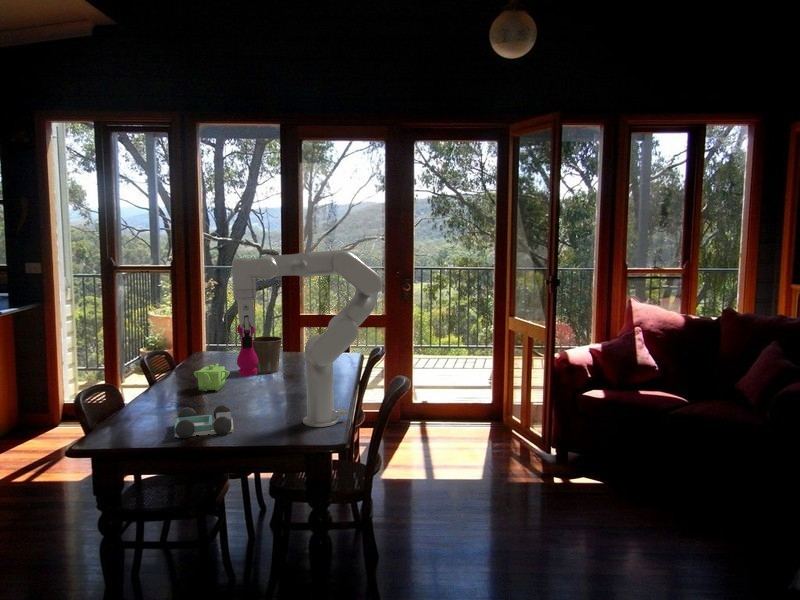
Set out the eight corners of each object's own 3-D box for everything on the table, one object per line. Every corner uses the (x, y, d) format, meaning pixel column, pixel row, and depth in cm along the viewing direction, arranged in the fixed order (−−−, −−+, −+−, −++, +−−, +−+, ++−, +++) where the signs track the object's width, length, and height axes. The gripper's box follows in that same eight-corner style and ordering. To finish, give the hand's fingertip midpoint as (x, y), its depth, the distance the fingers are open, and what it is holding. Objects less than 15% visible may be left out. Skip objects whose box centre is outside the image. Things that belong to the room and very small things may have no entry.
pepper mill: (239, 377, 214) (236, 319, 212) (235, 373, 221) (233, 316, 218) (260, 375, 217) (258, 317, 214) (256, 371, 223) (254, 315, 221)
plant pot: (287, 367, 314) (286, 336, 313) (277, 375, 298) (276, 341, 297) (255, 367, 316) (254, 335, 314) (244, 374, 300) (243, 341, 298)
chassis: (232, 419, 230) (231, 403, 229) (233, 433, 214) (232, 416, 214) (177, 424, 225) (176, 408, 224) (174, 439, 209) (173, 421, 209)
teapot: (205, 395, 264) (204, 370, 262) (188, 390, 272) (186, 366, 271) (236, 388, 275) (235, 364, 274) (218, 383, 284) (217, 360, 283)
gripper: (257, 296, 208) (259, 350, 210) (254, 291, 225) (256, 341, 227) (234, 297, 206) (236, 352, 208) (232, 292, 223) (235, 343, 225)
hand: (247, 346), depth 218 cm, fingers closed on pepper mill, 5 cm apart
